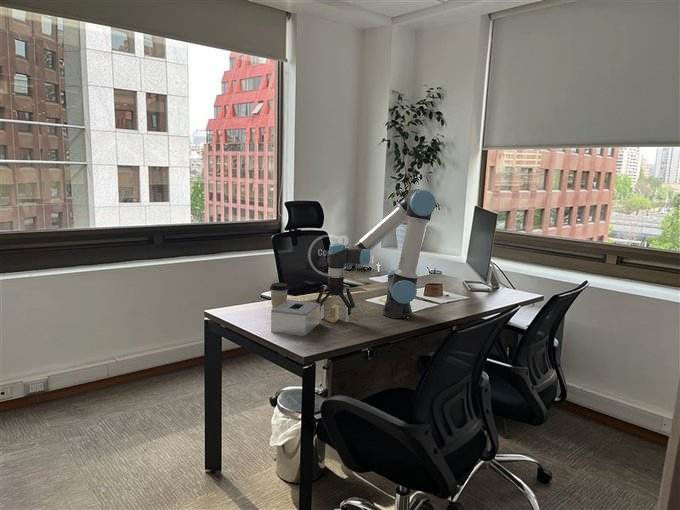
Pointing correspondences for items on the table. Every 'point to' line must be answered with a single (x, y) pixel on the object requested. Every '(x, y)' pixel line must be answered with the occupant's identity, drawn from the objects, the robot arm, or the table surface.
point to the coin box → (295, 317)
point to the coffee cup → (278, 293)
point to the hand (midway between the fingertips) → (334, 320)
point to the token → (334, 313)
